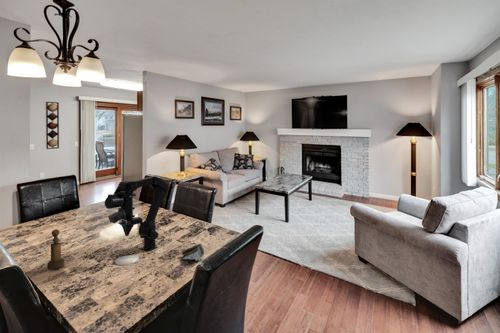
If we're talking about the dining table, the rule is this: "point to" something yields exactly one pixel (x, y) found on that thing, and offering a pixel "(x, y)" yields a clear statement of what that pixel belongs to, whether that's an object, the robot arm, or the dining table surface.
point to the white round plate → (126, 260)
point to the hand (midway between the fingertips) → (126, 236)
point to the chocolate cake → (193, 252)
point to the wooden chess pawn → (55, 252)
